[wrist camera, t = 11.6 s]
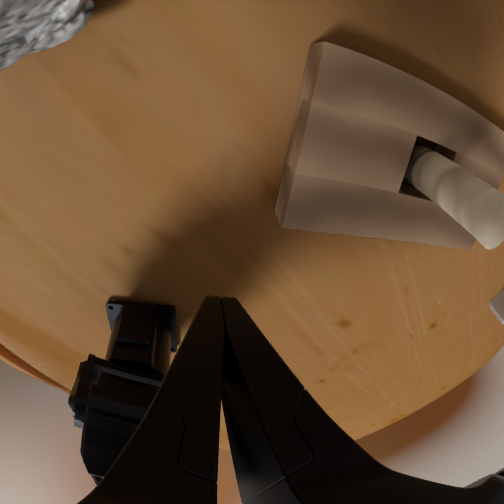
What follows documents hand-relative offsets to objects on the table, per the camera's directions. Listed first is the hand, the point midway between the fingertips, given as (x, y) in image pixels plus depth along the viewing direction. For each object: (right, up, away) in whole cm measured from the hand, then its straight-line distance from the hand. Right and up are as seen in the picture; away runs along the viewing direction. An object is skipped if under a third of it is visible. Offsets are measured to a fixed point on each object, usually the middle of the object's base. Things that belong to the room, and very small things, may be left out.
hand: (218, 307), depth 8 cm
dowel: (+13, +9, +12) cm, 20 cm away
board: (+13, +9, +12) cm, 20 cm away
